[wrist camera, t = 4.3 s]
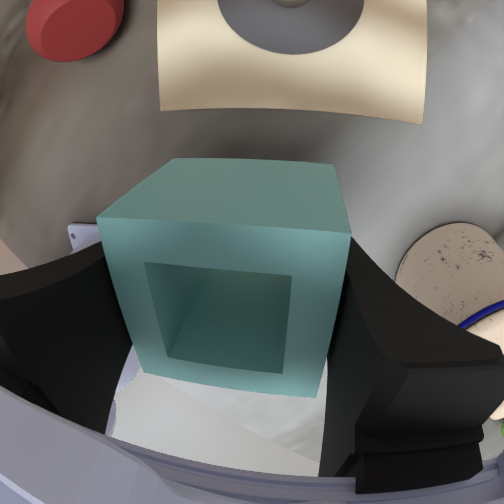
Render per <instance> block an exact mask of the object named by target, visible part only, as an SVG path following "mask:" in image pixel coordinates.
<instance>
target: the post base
mask: <svg viewBox="0 0 504 504" xmlns="http://www.w3.org/2000/svg"><path fill="white" fill-rule="evenodd" d="M157 40H158V75H159V95H160V111H170V110H186V109H208V108H274V109H296V110H312V111H325V112H336V113H346V114H355V115H363V116H371V117H378V118H385V119H391V120H397V121H403V122H409V123H415V124H420V125H422V119H423V109H424V98H425V84H426V63H427V9H426V0H157Z"/></svg>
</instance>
